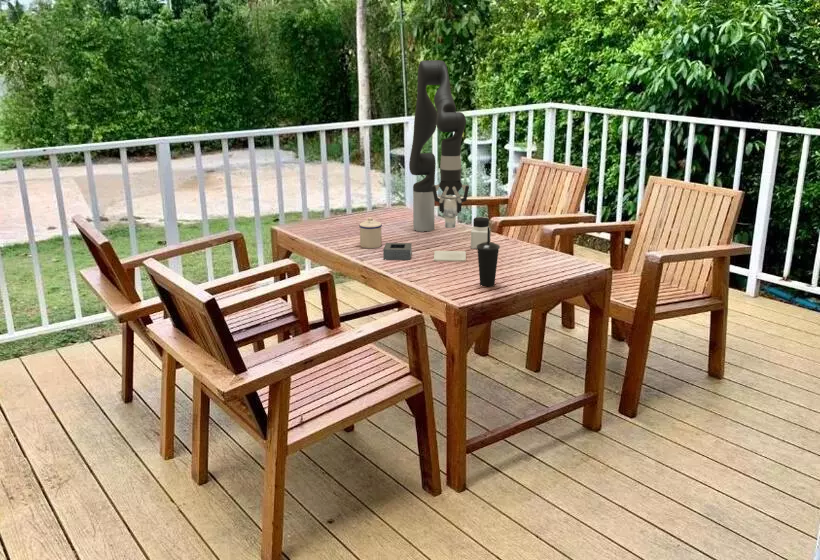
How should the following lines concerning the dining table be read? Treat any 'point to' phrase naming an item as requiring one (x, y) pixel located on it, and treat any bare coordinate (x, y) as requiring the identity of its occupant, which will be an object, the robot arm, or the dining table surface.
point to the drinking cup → (487, 261)
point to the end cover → (450, 211)
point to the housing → (397, 251)
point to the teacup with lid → (370, 234)
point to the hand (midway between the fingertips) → (450, 212)
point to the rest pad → (450, 256)
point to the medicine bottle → (479, 231)
